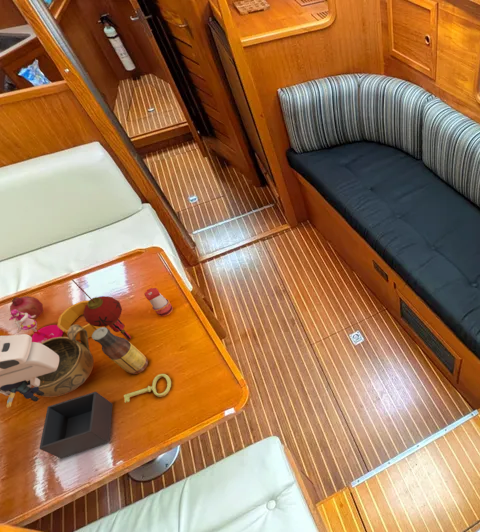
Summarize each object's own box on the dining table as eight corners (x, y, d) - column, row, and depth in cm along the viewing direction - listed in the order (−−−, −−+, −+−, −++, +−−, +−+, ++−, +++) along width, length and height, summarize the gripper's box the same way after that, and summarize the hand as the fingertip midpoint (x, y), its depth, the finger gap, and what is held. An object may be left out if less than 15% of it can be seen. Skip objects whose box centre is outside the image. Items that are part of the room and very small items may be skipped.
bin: (61, 458, 104) (39, 448, 98) (67, 418, 111) (47, 406, 105) (109, 442, 107) (91, 431, 101) (112, 403, 114) (95, 391, 108)
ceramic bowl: (94, 337, 129) (65, 311, 117) (123, 364, 122) (96, 339, 111) (20, 391, 116) (-21, 367, 105) (48, 424, 110) (8, 403, 99)
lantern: (144, 321, 133) (92, 262, 110) (145, 344, 127) (91, 286, 105) (113, 332, 130) (53, 273, 108) (113, 355, 124) (50, 298, 102)
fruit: (51, 318, 134) (30, 300, 126) (22, 330, 130) (0, 313, 123) (47, 302, 138) (27, 284, 130) (20, 314, 134) (-2, 296, 127)
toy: (171, 301, 138) (151, 274, 127) (178, 316, 134) (158, 288, 123) (155, 309, 136) (133, 282, 125) (162, 324, 132) (140, 297, 121)
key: (124, 398, 115) (120, 395, 113) (166, 372, 121) (163, 369, 119) (133, 416, 112) (129, 414, 110) (176, 388, 117) (173, 385, 116)
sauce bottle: (148, 354, 125) (114, 318, 110) (149, 370, 121) (115, 336, 106) (125, 362, 123) (88, 328, 108) (126, 379, 119) (87, 345, 104)
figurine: (38, 356, 124) (3, 330, 113) (23, 341, 127) (-13, 315, 116) (69, 333, 130) (38, 307, 118) (54, 320, 133) (22, 293, 122)
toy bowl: (64, 345, 127) (54, 337, 123) (70, 314, 134) (61, 306, 131) (106, 333, 130) (98, 325, 126) (110, 304, 137) (102, 295, 134)
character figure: (48, 377, 98) (12, 353, 89) (61, 382, 97) (26, 358, 88) (15, 412, 92) (-27, 390, 83) (28, 417, 91) (-13, 396, 82)
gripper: (-93, 390, 76) (-34, 417, 86) (30, 355, 81) (71, 385, 92) (-81, 363, 80) (-26, 391, 90) (36, 331, 85) (75, 362, 95)
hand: (24, 388), depth 91 cm, fingers closed on character figure, 3 cm apart
